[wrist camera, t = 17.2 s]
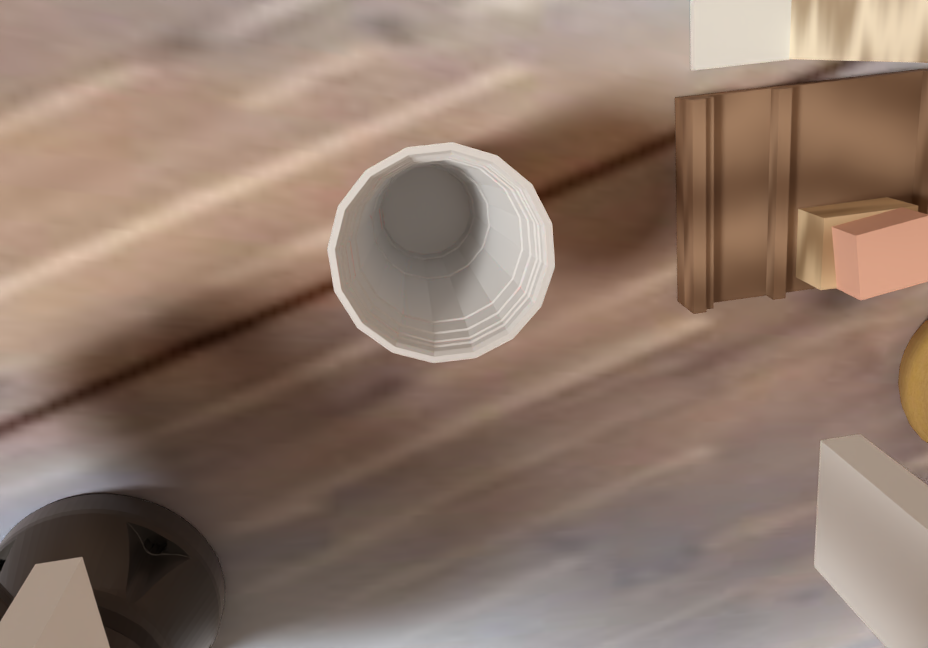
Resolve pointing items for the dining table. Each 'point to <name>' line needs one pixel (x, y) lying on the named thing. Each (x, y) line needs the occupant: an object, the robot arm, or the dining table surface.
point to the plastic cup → (441, 252)
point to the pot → (915, 381)
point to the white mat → (738, 32)
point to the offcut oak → (817, 236)
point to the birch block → (859, 30)
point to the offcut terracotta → (881, 253)
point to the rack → (786, 173)
